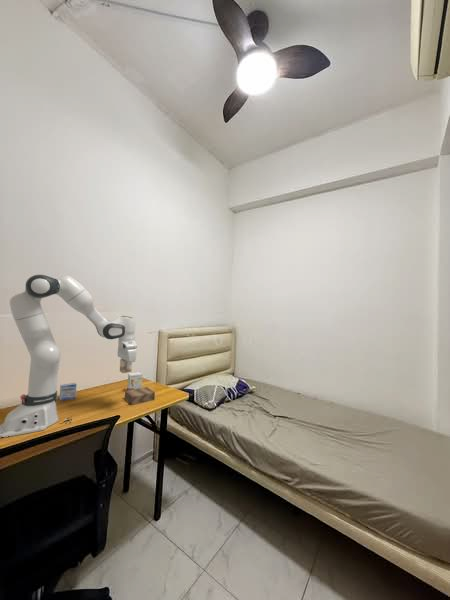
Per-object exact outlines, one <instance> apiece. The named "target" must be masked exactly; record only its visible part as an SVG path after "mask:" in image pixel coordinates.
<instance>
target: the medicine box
mask: <svg viewBox="0 0 450 600" xmlns="http://www.w3.org/2000/svg"><path fill="white" fill-rule="evenodd" d="M76 397H77V383H76V382H70V383H64V384H63V383H62V384H60V386H59V401H60V402H63V401H64V402H65V401H68V400H69V401H70V400H74V399H76Z"/></svg>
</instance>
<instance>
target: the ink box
mask: <svg viewBox="0 0 450 600" xmlns="http://www.w3.org/2000/svg"><path fill="white" fill-rule="evenodd" d="M126 386H127V389H126V391H129V390H134V389H139V388H143V373H142V372H141V371H137V372H128V375H127V385H126Z"/></svg>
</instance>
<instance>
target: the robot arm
mask: <svg viewBox="0 0 450 600" xmlns="http://www.w3.org/2000/svg"><path fill="white" fill-rule="evenodd" d="M53 295H56V296H58V297H60V298H61V299H62V300H63V301H64V302H65V303H67V304H68V306H70V308H72V309H74V310H75V311H76V312H78V313H80V314H81V315H84V316H85V317H86V318H87V320H89V322H91V323H92V324H93V325H94V327H95V328H96V331H97V334H98V335H99V337H102V338H103V339H107V340H115V339H117V340H118V341H117V342H118V345H117V357H118V358H120V359H123V360H125V361H126V363H127V364H126V368H127V369H128V368H130V364H131V362H132V363H135V362H136V360H137V348H138V344H137V342H136V341H135V339H136V338H135V332H136V322H135V321H136V320H135V318H133V317H132V316H128V315H127V316H126V315H120V316H119V317H117V319H114V320H112V321H111V320H108V319H106V318H105V317H104V316H103V315H102V314H101V312H99V311H98V310H97V309H96V307H95V305H94V299H93V296H92V294H91V293H90V292H89V291H88V290H87V289H86V288H85V287H84V286H83V285H82V284H81V283H80V282H79V281H78V280H76V279H75V278H73V277H72V276H70V275H63V276H60V277H58V278H54V277H51V276H48V275H45V274H34V275H32V276H30V277H29V278H28V279H27V280H26V281H25V290H24V291H23V292H21V293H17V294H15V295H13V296H12V297H11V298H10V300H9V306H10V309H11V310H10V312H11V314H12V316H13V317H12V318H13V319H14V322H15V324H16V327H17V328H18V332H19V333H20V337H21V338H22V341H23V343H24V345H25V346H26V349H27V351H28V354H29V355H30V367H29V376H28V387H27V394H21V395H20V400H21V404H20V405H18V406H17V407H16V408H14V409H12V410H11V411H9V413H8V414H7V415H6V417H5V419H4V421H3V422H2V423H1V424H0V438H1V437H4V438H8V436H9V437H14V436H18V435H19V436H20V435H25V434H29V433H35V432H40V431H41V432H42V431H44V430H46V429H48V428H49V427H50V426H52V425H54V424H55V423H57V422H58V421H59V416H58V409H57V402H58V390H57V389H58V387H57V386H58V373H59V367H60V361H61V349H60V348H59V347H58V346H57V344H56V342H55V339H54V337H53V336H54V335H53V332H52V330H51V327H50V325H49V322H48V320H47V317H46V315H45V312H44V310H43V308H42V305H41V304H42V303H41V301H42V299H44V298H47V297H50V296H53Z"/></svg>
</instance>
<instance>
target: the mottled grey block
mask: <svg viewBox="0 0 450 600" xmlns="http://www.w3.org/2000/svg"><path fill="white" fill-rule="evenodd" d="M126 364H127V363H126V361H125V360H123V359H121V358H120V360H119V372H120V373H121V374H127V373H128V374H129V373H133V371H132V370H133V369H132V368H133V362H131V364H130V368H128V369H127V368H126Z"/></svg>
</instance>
